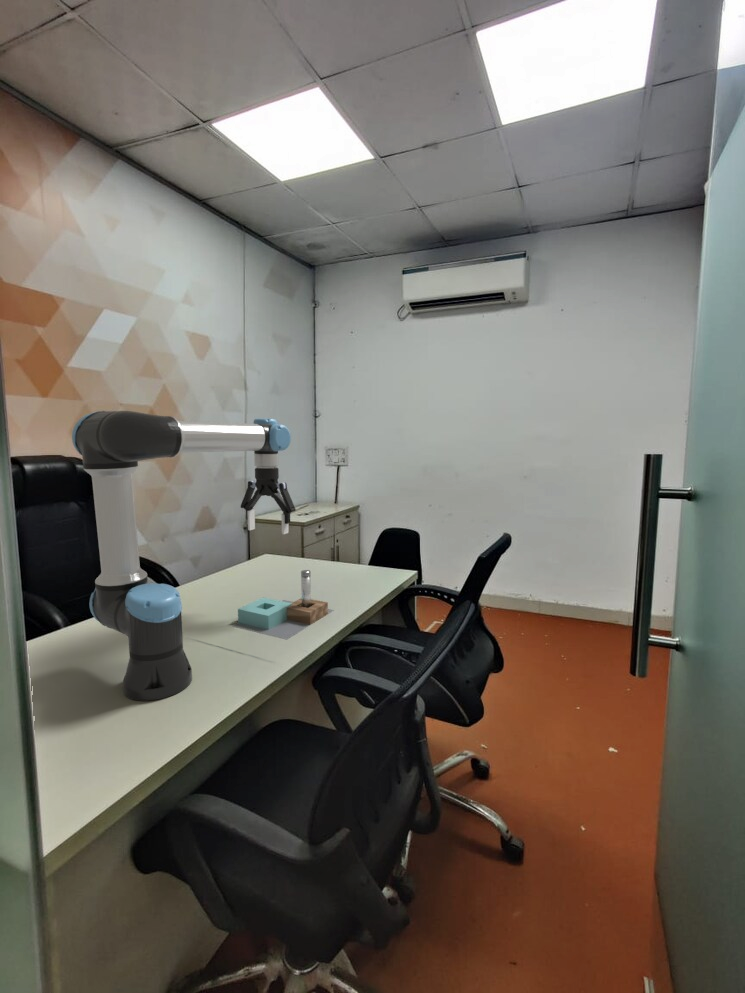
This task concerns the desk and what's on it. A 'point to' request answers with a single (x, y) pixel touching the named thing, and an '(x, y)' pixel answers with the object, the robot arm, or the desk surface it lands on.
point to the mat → (278, 628)
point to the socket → (263, 613)
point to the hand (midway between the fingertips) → (268, 531)
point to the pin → (306, 588)
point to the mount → (307, 611)
